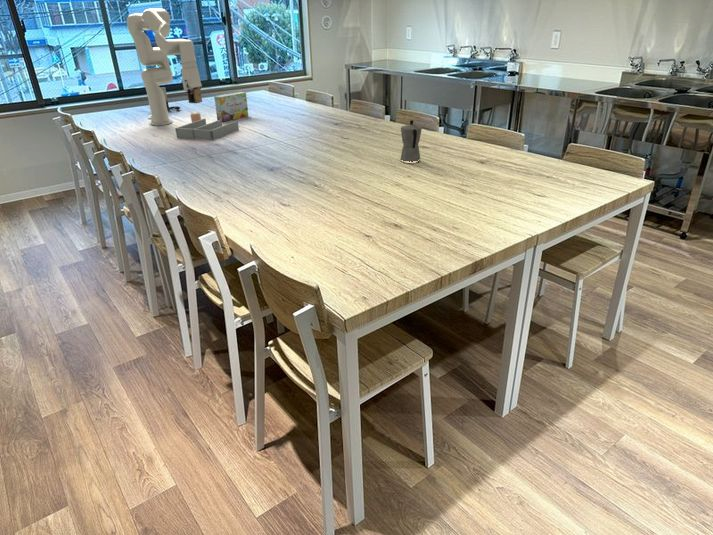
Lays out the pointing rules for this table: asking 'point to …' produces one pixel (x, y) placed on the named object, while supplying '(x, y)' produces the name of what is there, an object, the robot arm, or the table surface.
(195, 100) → the walnut block
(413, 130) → the coffeepot
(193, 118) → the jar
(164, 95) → the milk frother
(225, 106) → the snack box
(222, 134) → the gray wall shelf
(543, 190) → the table surface
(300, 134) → the table surface
